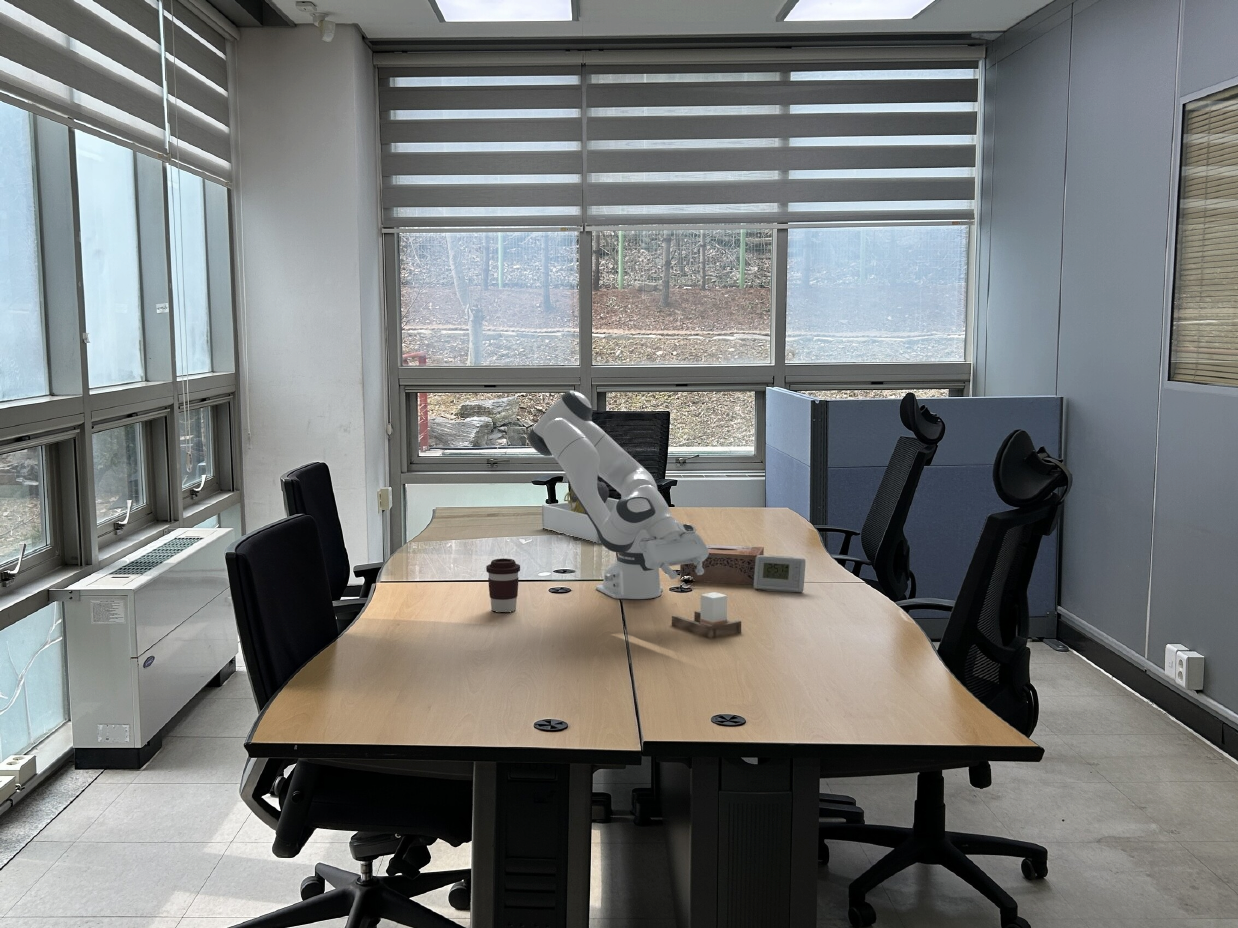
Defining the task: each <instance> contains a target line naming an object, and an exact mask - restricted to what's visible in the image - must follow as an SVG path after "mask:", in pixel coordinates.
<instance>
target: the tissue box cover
mask: <svg viewBox="0 0 1238 928" xmlns="http://www.w3.org/2000/svg"><path fill="white" fill-rule="evenodd" d="M705 544H706V546H707V548H708V550H709V555H708V556H707V558H706V559H705V560H704V561H702V568H703V570H704V573H703V574H702V575H697V573H696V572H695V570H696V569H697V565H695V564H694V563H688V564H682V565H679V580H680V579H681V578H682V577H684V576H691V577H693V579H694V580H695V581H694V582H702V581H703V582H704V583H707V582H708V583H719V582H724V584H737V583H744V584H743V585H754V574H755V562H756V557H757V556H758V555H764V552H765V551H764V550H765V549H764V548H765V547H764V546H753V545H752V546H751V545H750V546H749V545H734V544H733V545H729V544H714V543H713V544H710V543H705ZM764 556H765V555H764ZM725 582H726V583H725Z"/></svg>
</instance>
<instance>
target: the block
mask: <svg viewBox="0 0 1238 928" xmlns="http://www.w3.org/2000/svg"><path fill="white" fill-rule="evenodd" d="M700 612H701V618H700V623H701V624H704V625H707V626H714V625H719V624H723V623H727V620H728V595H726V594H723V593H719V592H715V591H714V592H713V591H712V592H709V593H703V594H700Z"/></svg>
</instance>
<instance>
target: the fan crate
mask: <svg viewBox="0 0 1238 928" xmlns="http://www.w3.org/2000/svg"><path fill="white" fill-rule="evenodd" d="M619 500H620V499H615V498H611V497H608V499H607V501H606V502H605V505H606V507H607V508H608V510H609V511H610V513H611V512H612V510H613V508H614V507H615V505H616V503H617V502H618V501H619ZM578 503H579V502H578ZM575 505H576V503H572V507H573V508H575ZM541 507H542V508H541V509H542V517H541V518H542V520H541V521H542V522H541V523H542V526H543V527H546V528H550V529H554V530H556V531H559V532H563V533H566V534H569V535H573V536H575V537H579V538H583V539H586V540H590V541H594V542H596V543H595V544H602V543H601V541H600V539H599V537H598V534H597V531H596V529H595V527H594V525H593V524H592V522H591V520H590V519H589V517H588V516H587V515H585V513H584V514H583V510H582V514H581V513H577V512H576V511H575V512H572V511H571V503H568V501H566V502H558V503H551V504H542V506H541ZM575 537H574V538H575ZM579 538H578V539H579ZM583 539H582V540H583ZM586 540H585V541H586ZM590 541H589V542H590ZM594 542H593V543H594Z"/></svg>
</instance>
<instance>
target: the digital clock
mask: <svg viewBox="0 0 1238 928" xmlns="http://www.w3.org/2000/svg"><path fill="white" fill-rule="evenodd" d="M805 575H806V559H805V558H803V557H795V556H794V557H793V556H783V555H782V556H781V555H758V556H757V557H756V562H755V574H754V584H753V588H754V589H755V590H763V591H765V590H766V591H765V592H767V591H769V592H778V591H779V592H780V593H781V592H782V593H803V592H804V589H805Z"/></svg>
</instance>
